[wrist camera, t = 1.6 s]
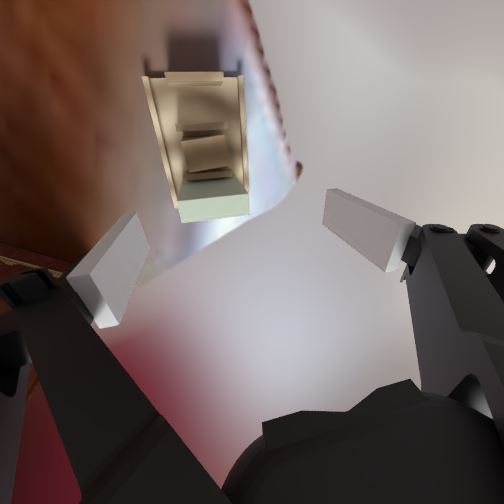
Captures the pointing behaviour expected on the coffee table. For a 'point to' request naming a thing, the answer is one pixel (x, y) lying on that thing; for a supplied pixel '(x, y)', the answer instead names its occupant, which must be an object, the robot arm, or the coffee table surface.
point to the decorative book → (17, 260)
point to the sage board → (212, 199)
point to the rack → (198, 121)
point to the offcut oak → (205, 152)
